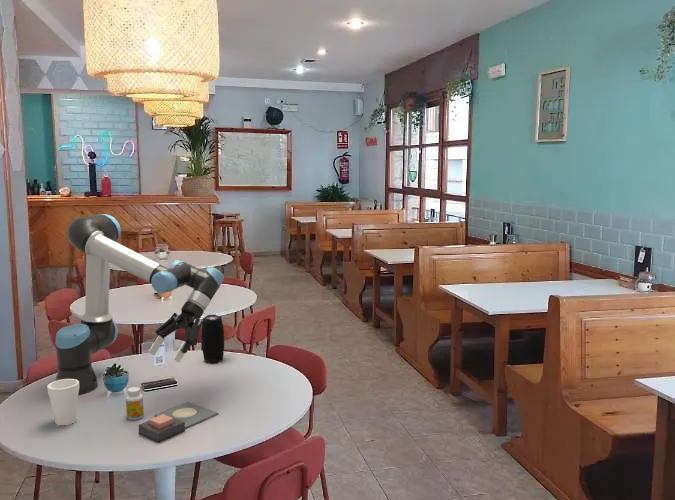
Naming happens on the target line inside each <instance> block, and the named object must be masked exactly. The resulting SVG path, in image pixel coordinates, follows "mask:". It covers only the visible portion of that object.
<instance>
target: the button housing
mask: <svg viewBox="0 0 675 500" xmlns="http://www.w3.org/2000/svg"><path fill="white" fill-rule="evenodd" d="M164 415H166V414H164ZM167 416H168V415H167ZM169 417H171V416H169ZM172 418H173V417H172ZM173 421H174V423H173V424H171V425H169V426H166V427H164V428H162V429H158V428H155V427H153V426H151V425H150V423H149V420H147V421H144V422H142V423H139V424H137V425H138V434H139V435H141V436H143V437H145V438H148V440H149V439H150V440H152V441H154V442H156V443H158V444H159V443H161V442H164V441H165V440H168V439H170V438H172V437H175V436H177V435H178V434H182V433H183V432H185V431H186V429H185V422H183V421H181V420H178V419H176V418H173Z"/></svg>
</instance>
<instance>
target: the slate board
mask: <svg viewBox="0 0 675 500" xmlns="http://www.w3.org/2000/svg"><path fill="white" fill-rule="evenodd" d="M162 414H166V415H168V416H171V417H173V418H176V419H178V420H181V421H183V422H185V430H186V429H189V428H190V427H191V428H192V427H193V426H196V425H198V424H199V423H202V422H205V421H206V420H209V419H211V418H213V417H216V416H218V415H219V412H218V411H215V410H212V409H209V408H207V407H204V406H201V405H198V404H195V403H193V402H191V401H185V402H183V403H180V404H178V405H175V406H173V407H170V408H168V409H165V410H162V411H160V412H158V413H155V414H154V418H155V417H157V416H160V415H162Z"/></svg>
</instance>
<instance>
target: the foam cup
mask: <svg viewBox="0 0 675 500" xmlns="http://www.w3.org/2000/svg"><path fill="white" fill-rule="evenodd" d="M46 389H47V390H46V391H47V394H48V397H49V402H50V405H51V411H52V414H53V415H52V416H53V419H54V423H56V424H57V425H56V424H55V425H56V426H59V425H66V426H71V425H72V423H73V424H74V423H76V421H77V418H78V405H79V394H78V393H79V381H78V380H76V379H62V380H57V381H55V380H54V381H51V382H50V383H48V384H47V386H46Z"/></svg>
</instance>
